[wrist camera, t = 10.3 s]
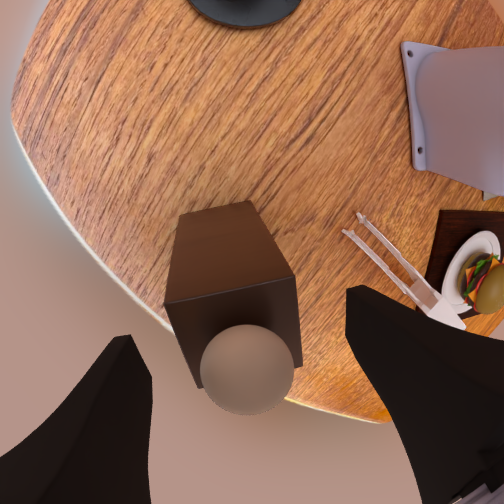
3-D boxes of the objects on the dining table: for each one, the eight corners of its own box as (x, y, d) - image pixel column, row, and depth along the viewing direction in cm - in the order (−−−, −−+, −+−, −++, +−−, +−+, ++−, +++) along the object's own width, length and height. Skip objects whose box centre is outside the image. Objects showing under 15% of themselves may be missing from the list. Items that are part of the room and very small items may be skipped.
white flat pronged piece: (333, 223, 27) (449, 342, 26) (347, 239, 16) (495, 401, 15) (346, 208, 26) (461, 330, 26) (370, 213, 15) (512, 384, 15)
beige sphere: (285, 359, 11) (306, 419, 9) (210, 375, 11) (216, 439, 9) (277, 297, 10) (303, 359, 7) (189, 316, 10) (188, 383, 7)
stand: (260, 263, 20) (303, 366, 12) (195, 277, 20) (197, 389, 11) (250, 199, 19) (295, 275, 10) (179, 214, 18) (163, 303, 10)
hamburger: (440, 209, 21) (486, 235, 16) (511, 212, 23) (548, 232, 18) (408, 330, 26) (438, 367, 21) (481, 310, 28) (510, 336, 23)
